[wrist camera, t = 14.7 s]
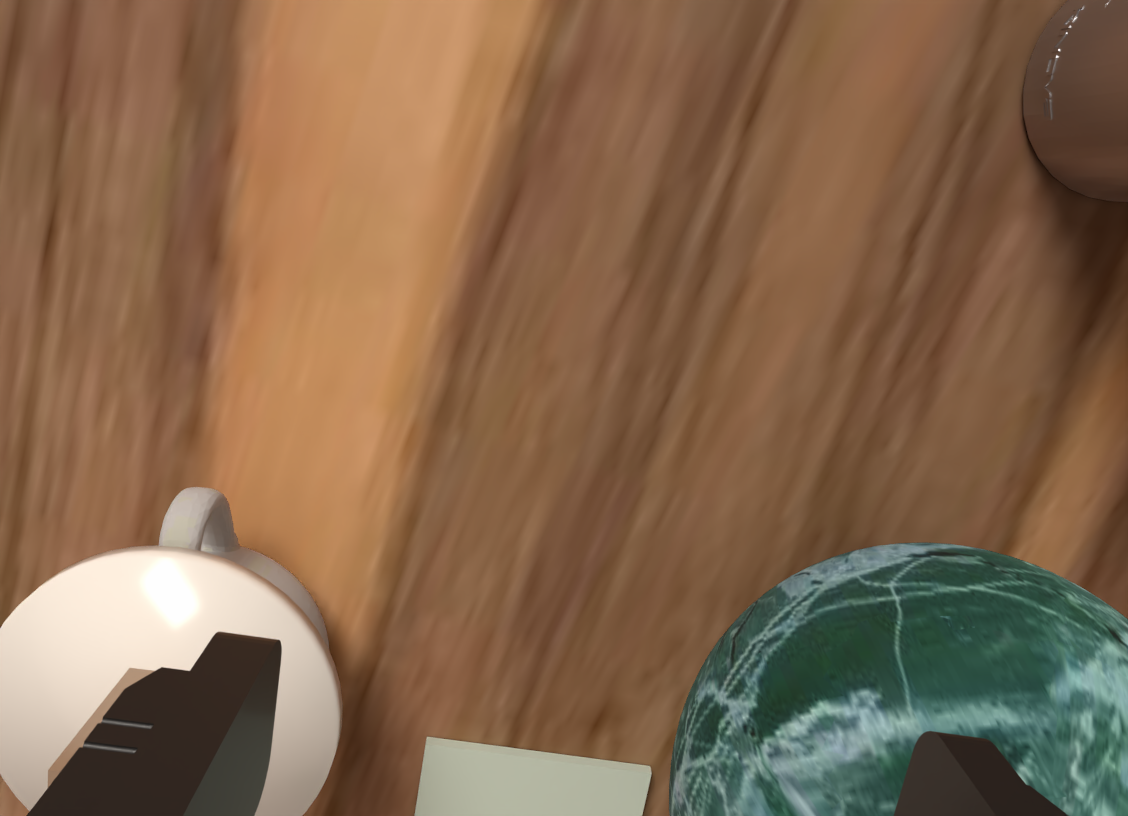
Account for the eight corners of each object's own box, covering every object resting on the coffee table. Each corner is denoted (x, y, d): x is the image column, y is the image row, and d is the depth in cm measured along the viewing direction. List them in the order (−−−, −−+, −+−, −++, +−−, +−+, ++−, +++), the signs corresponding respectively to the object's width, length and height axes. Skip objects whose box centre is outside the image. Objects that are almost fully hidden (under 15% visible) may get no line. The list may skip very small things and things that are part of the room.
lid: (358, 569, 35) (317, 667, 28) (326, 866, 38) (282, 1019, 31) (-5, 523, 34) (-139, 613, 27) (-7, 831, 37) (-127, 981, 30)
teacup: (305, 753, 46) (259, 873, 38) (82, 687, 44) (-13, 797, 37) (394, 496, 43) (363, 570, 35) (156, 417, 41) (69, 476, 34)
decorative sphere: (966, 399, 42) (1334, 599, 23) (1110, 744, 47) (1515, 1151, 28) (569, 593, 44) (598, 933, 25) (746, 907, 49) (888, 1398, 29)
